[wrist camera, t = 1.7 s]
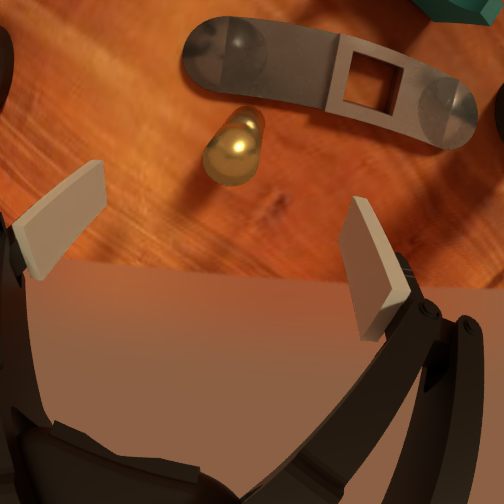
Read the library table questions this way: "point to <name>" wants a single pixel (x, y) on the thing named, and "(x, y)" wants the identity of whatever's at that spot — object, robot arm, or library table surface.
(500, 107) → the vase
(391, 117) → the slotted link plate
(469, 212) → the library table surface
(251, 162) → the pin
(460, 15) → the teal l-shaped bracket
